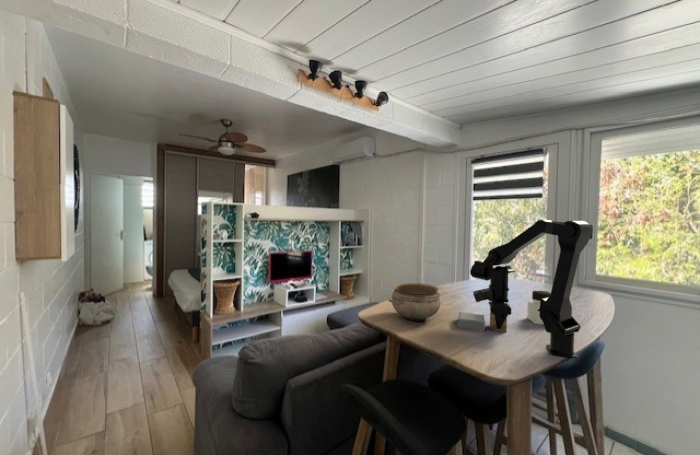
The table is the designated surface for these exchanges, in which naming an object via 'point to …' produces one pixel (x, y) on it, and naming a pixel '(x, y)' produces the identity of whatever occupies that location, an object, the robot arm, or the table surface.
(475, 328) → the grey-green flat square block
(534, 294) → the medicine bottle
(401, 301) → the cooking pot
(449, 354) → the table surface
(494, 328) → the walnut cube
